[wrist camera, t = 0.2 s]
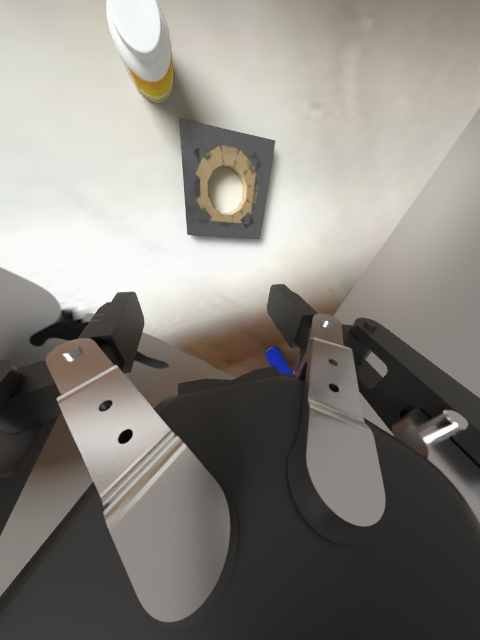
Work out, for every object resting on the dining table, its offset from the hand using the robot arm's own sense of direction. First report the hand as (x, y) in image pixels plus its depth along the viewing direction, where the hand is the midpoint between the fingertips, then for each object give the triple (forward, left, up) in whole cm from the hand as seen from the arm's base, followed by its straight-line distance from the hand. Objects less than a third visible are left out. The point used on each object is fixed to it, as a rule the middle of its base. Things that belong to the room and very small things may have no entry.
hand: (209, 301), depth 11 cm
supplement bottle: (-17, -4, -29) cm, 33 cm away
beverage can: (+38, +25, -29) cm, 54 cm away
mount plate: (-6, +6, -28) cm, 30 cm away
